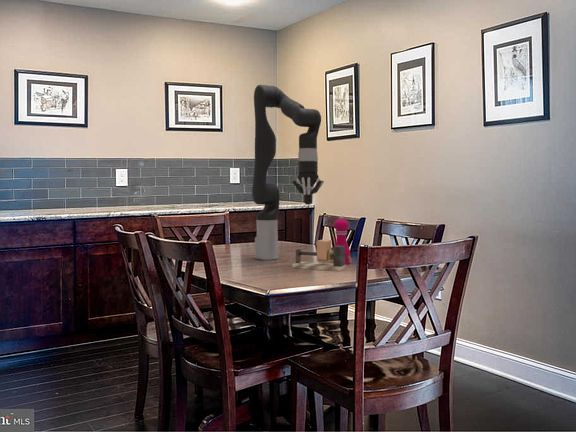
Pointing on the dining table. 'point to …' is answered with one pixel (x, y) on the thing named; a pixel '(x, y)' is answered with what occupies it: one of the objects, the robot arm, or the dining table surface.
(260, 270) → the dining table surface
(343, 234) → the pepper mill
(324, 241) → the marker sleeve
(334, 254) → the cord stand
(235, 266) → the dining table surface
